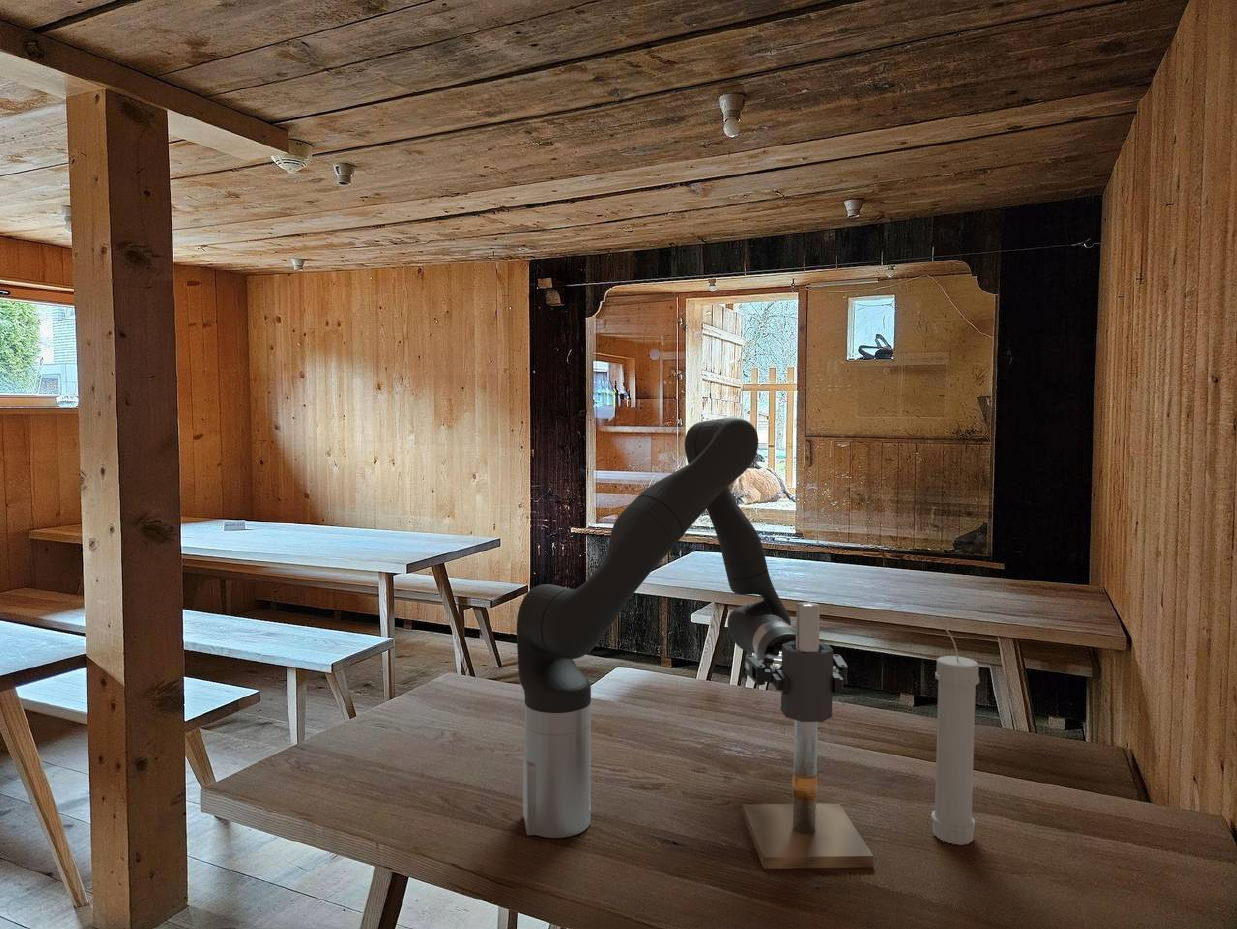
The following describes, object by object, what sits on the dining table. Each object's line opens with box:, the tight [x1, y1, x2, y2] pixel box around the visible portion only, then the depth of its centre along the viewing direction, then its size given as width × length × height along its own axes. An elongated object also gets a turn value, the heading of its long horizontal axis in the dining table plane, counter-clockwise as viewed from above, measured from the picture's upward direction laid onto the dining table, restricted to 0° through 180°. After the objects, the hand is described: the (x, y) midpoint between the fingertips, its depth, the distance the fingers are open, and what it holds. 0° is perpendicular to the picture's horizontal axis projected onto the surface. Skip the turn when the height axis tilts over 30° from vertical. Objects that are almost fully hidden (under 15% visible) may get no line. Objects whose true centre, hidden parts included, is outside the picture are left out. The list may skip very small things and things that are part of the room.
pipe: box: [930, 617, 980, 846], centre depth 108 cm, size 6×6×30 cm
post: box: [742, 602, 874, 870], centre depth 107 cm, size 14×14×32 cm
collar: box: [780, 641, 834, 723], centre depth 107 cm, size 6×6×9 cm
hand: (811, 686), depth 105 cm, fingers closed on collar, 6 cm apart
